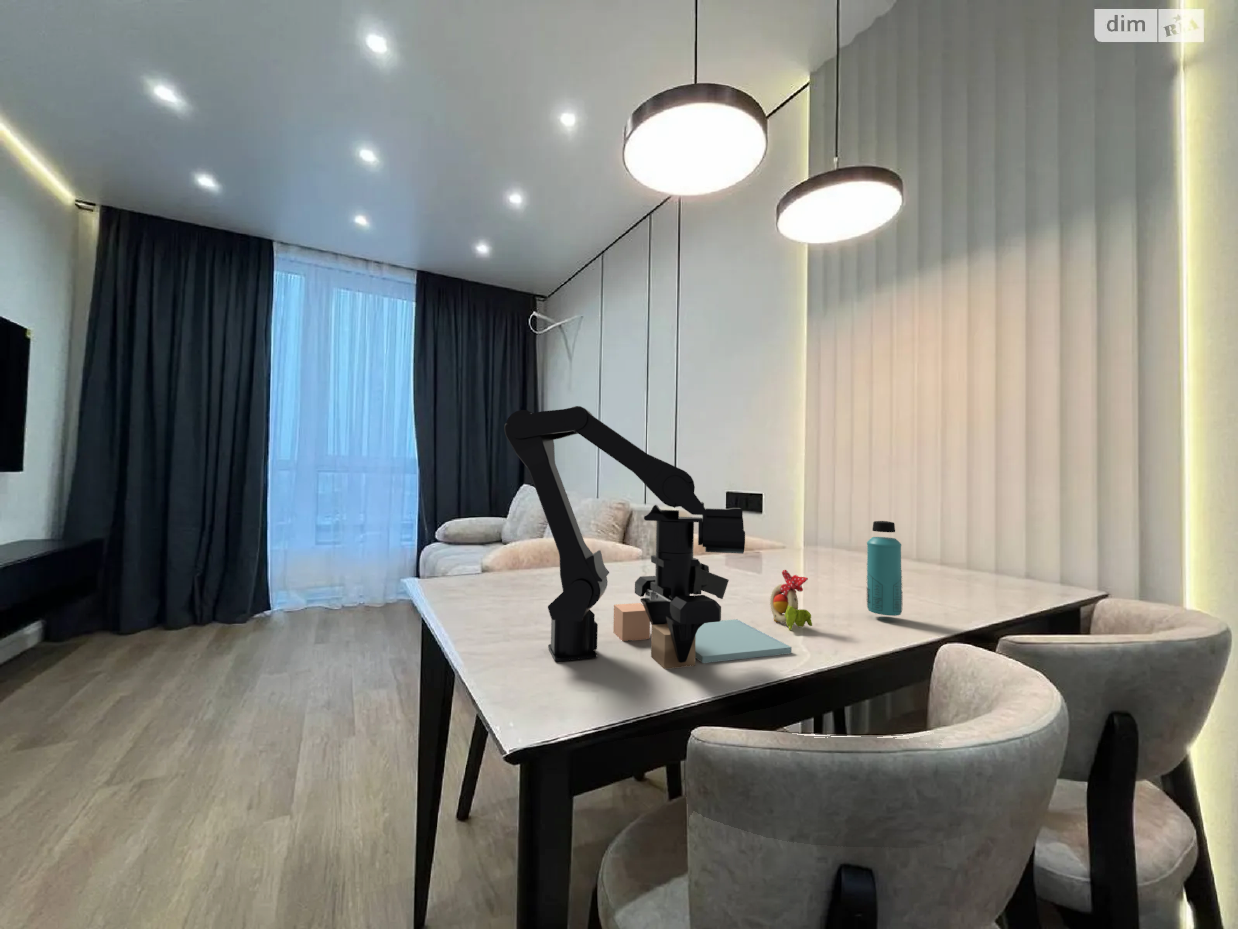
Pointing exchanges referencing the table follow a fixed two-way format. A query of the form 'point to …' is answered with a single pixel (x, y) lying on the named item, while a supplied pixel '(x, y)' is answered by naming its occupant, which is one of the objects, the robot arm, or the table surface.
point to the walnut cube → (668, 648)
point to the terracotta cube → (631, 622)
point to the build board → (734, 642)
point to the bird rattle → (789, 602)
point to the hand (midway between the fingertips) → (672, 654)
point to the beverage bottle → (884, 572)
